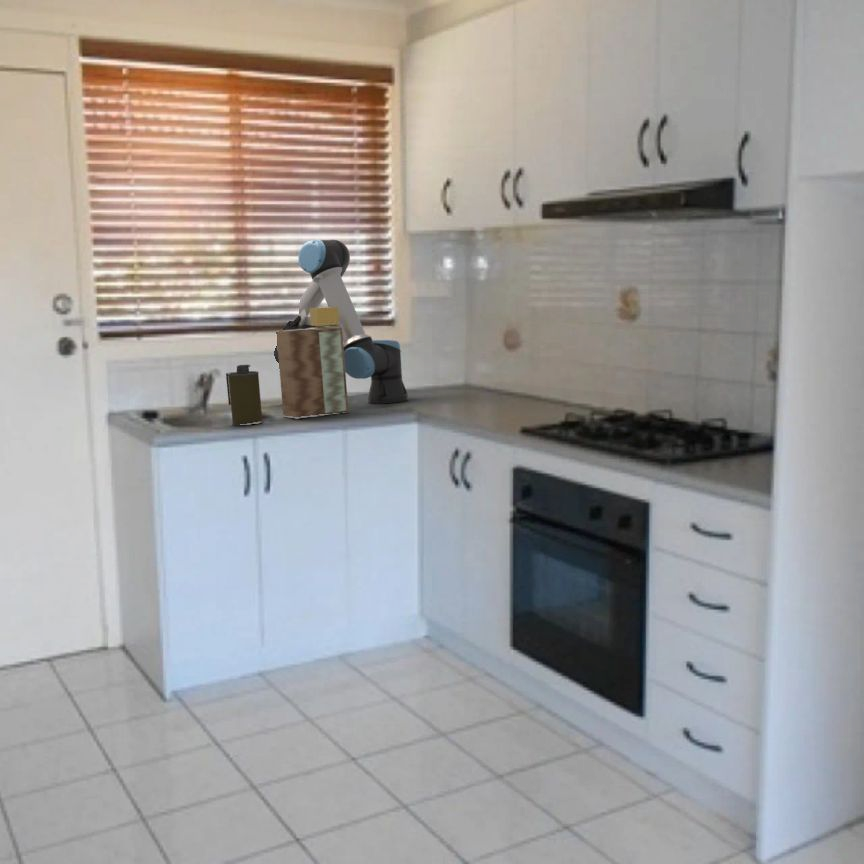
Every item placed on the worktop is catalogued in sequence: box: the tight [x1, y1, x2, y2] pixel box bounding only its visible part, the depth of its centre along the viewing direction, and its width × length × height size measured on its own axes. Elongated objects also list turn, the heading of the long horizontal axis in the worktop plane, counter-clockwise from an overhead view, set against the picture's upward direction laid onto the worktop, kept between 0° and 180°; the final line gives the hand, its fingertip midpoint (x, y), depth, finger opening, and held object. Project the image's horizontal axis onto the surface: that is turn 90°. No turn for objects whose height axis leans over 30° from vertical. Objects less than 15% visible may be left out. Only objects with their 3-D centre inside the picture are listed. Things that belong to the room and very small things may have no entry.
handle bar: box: [298, 306, 339, 327], centre depth 360 cm, size 8×24×6 cm, turn 31°
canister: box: [225, 364, 263, 426], centre depth 344 cm, size 11×10×20 cm
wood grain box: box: [276, 326, 349, 417], centre depth 354 cm, size 20×11×30 cm, turn 121°
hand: (309, 312), depth 363 cm, fingers closed on handle bar, 3 cm apart
